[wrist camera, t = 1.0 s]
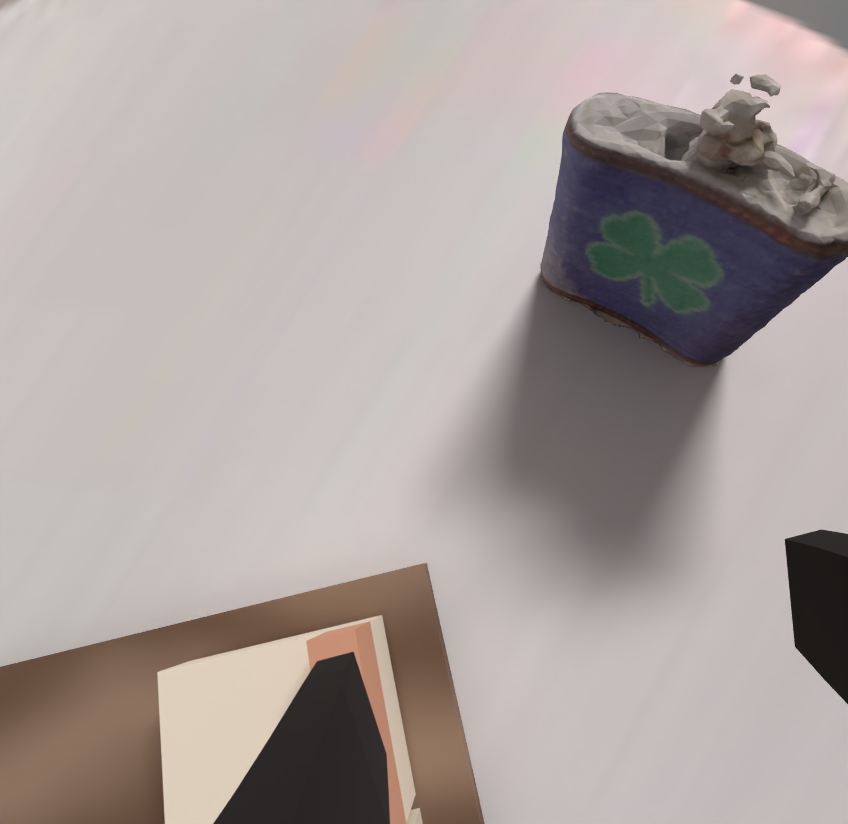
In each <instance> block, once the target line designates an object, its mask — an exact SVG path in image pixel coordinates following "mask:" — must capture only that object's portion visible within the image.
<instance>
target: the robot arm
mask: <svg viewBox="0 0 848 824" xmlns="http://www.w3.org/2000/svg"><path fill="white" fill-rule="evenodd" d="M785 546H786V557H787V567H788V578H789V588H790V599H791V610H792V620H793V631H794V641H795V647H796V648H797V649H798V650H799V652H800V653H801V654H802V655H803V656H804V657H805V658H806V659H807V661H808V662H809V663H810V664H811V665H812V666H813V667H814V668H815V670H816V671H817V672H818V673H819V674H820V675H821V676H822V677H823V678H824V680H825V681H826V682H827V683H828V684H829V685H830V686H831V687H832V688H833V689H834V690H835V691H836V692H837V693H838V694H839V695H840V696H841V697H842V699H843V700H844V701H845V702H846V703H847V704H848V534H844V533H839V532H833V531H827V530H818V531H814V532H810V533H806V534H803V535H799V536H795V537H791V538H787V539H785ZM213 824H390V810H389V788H388V770H387V754H386V750H385V747H384V744H383V741H382V738H381V735H380V732H379V729H378V726H377V723H376V719H375V716H374V713H373V710H372V707H371V704H370V701H369V698H368V695H367V692H366V688H365V685H364V682H363V679H362V676H361V673H360V670H359V667H358V664H357V661H356V657H355V654H354V652H350V653H346V654H342V655H339V656H335V657H331V658H327V659H323V660H319V661H317V662H316V664H315V665H314V667H313V668H312V670H311V671H310V673H309V675H308V676H307V678H306V679H305V681H304V682H303V684H302V686H301V687H300V689H299V690H298V692H297V694H296V695H295V697H294V699H293V700H292V702H291V704H290V705H289V707H288V708H287V710H286V712H285V713H284V715H283V717H282V718H281V720H280V721H279V723H278V725H277V726H276V728H275V730H274V731H273V733H272V734H271V736H270V738H269V739H268V741H267V742H266V744H265V746H264V747H263V749H262V750H261V752H260V753H259V755H258V757H257V758H256V760H255V761H254V763H253V764H252V766H251V767H250V769H249V771H248V772H247V774H246V775H245V777H244V778H243V780H242V782H241V783H240V785H239V786H238V788H237V789H236V791H235V792H234V794H233V795H232V797H231V799H230V800H229V801H228V803H227V804H226V806H225V807H224V809H223V810H222V812H221V813H220V814H219V816H218V817H217V819H216V820H215V822H214V823H213Z"/></svg>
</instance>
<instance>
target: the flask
mask: <svg viewBox="0 0 848 824" xmlns="http://www.w3.org/2000/svg"><path fill="white" fill-rule="evenodd" d="M743 78H744V77H743V76H741V75H738V74H735V75H734V76H733V77H732V78H731V80H730V82H731V83H733V84H740V82H741V81H742V79H743ZM750 82H751V87H752V88H754V89H758V90H762V91H765V92H768V94H769V95H770V96H773V95H778V94H779V92H780V87H781V85H780V84H779V83H777V82H776V81H775V80H773V79H772V78H770V77H769V76H767V75H756V76H752V77H750ZM766 107H767V108H770V105H769V103H768V102H767V101H766V100H763V99H761V98H760V97H752V96H751V94H750V93H747V92H743V91H738V90H730V91H729V92H727V93H726V94H725V96H724V97H722V98H721V99H720V100H719V101H718V102H717V104H716V105H715V106H714V107H713V108H712V109H706V110H704V111H702V114H701V115H699V114H696V113H693V112H691V111H689V110H686V109H681V108H677V107H672V106H667V105H662V104H658V103H655V102H652V101H649V100H645V99H642V98H638V97H631V96H625V95H622V94H618V93H598V94H596V95H594V96H592V97H590V98H588V99H586V100H585V101H583V102H582V103H580V104H579V105H578V106H576V107H575V108H574V109H573V110H572V112H571V114H570V116H569V118H568V121H567V123H566V126H565V129H564V132H563V140H562V157H561V164H560V170H559V176H558V181H557V187H556V194H555V201H554V204H553V210H552V213H551V216H550V222H549V230H548V236H547V240H546V245H545V249H544V254H543V258H542V262H541V274H542V275H541V277H542V278H543V281H544V282H545V283H546V285H548V286H549V287H550V288H551V289H552V290H553V291H554V292H555V293H557V294H559V296H561V297H562V298H563V299H566V301H570V299H574V301H577V302H579V303H580V304H582V305H584V306H586V307H588V308H589V309H590V310H593V311H594V312H595V314H596V315H597V316H600V317H602V318H603V319H604V321H606V322H611V323H612V324H614V325H619V326H621V325H622V326H624V327H625V326H626V327H632V328H633V329H635V330H636V331H638V332H639V338H645V339H650V340H654V341H655V342H657V343H659V345H660V346H661V347H662V348H663V351H664V352H665V351H667V352H669V353H671V354H673V355H675V356H676V357H677V358H678V359H681V360H682V361H684V362H685V363H686V364H688V365H689V366H708V365H714V366H716V362H718V361H719V360H721V359H722V358H724V357H726V356H728V355H730V354H731V353H733V352H734V351H735V350H737V349H738V348H739V346H741V345H742V344H743V343H745V342H746V341H747V340H748V339H750V338H751V337H752V336H753V335H754V333H756V332H757V331H759V330H760V329H762V328H763V327H765V326H766V325H767V323H768V322H769V321H770V320H771V319H772V318H774V317H775V316H776V315H777V314H778V313H779V312H781V311H782V310H783V309H784V308H786V307H787V306H789V305H790V304H791V303H792V302H793V301H794V300H796V299H797V298H798V297H799V296H800V295H801V294H802V293H804V292H805V291H806V290H807V289H809V288H810V287H812V286H813V285H814V284H815V283H816V282H818V281H819V280H820V279H821V278H823V277H824V276H825V275H826V274H827V273H828V272H829V271H830V270H831V269H832V268H833V267H834V266H836V265H837V264H839V263H840V262H842V261H844V260H845V259H846V257H848V183H847V182H846V181H844V180H843V179H841V178H839V177H837V176H835V174H833V173H831V172H829V171H827V170H825V169H823V168H821V167H818V166H816V165H814V164H812V163H811V162H809V161H808V160H806V159H805V158H803V157H802V156H800V155H798V154H796V153H794V152H792V151H791V150H789V149H787V148H785V147H782V146H780V145H778V144H777V136H776V134H775V133H774V132H773V130H772V129H771V126H770V123H768V122H764V121H761V120H755V115H757V114H758V113H759V112H761V110H762V109H764V108H766Z"/></svg>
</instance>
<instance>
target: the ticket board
mask: <svg viewBox="0 0 848 824" xmlns="http://www.w3.org/2000/svg"><path fill="white" fill-rule="evenodd" d="M379 615H382V617H383V623H384V628H385V633H386V639H387V644H388V649H389V655H390V660H391V665H392V671H393V676H394V681H395V686H396V692H397V697H398V702H399V708H400V713H401V718H402V724H403V729H404V734H405V740H406V745H407V750H408V756H409V761H410V766H411V772H412V777H413V782H414V788H415V793H416V795H415V798H414V801H413V804H412V808H411V811H410V814H409V817H408V820H407V824H484V820H483V815H482V811H481V806H480V802H479V797H478V793H477V788H476V784H475V779H474V775H473V770H472V766H471V761H470V757H469V752H468V748H467V743H466V739H465V734H464V730H463V725H462V721H461V716H460V712H459V707H458V703H457V698H456V694H455V689H454V685H453V680H452V676H451V671H450V667H449V662H448V658H447V653H446V649H445V644H444V640H443V635H442V631H441V626H440V622H439V617H438V613H437V608H436V604H435V599H434V595H433V590H432V585H431V581H430V576H429V572H428V567H427V563H424V564H420V565H416V566H412V567H407V568H403V569H399V570H395V571H391V572H387V573H383V574H379V575H375V576H371V577H367V578H362V579H358V580H354V581H350V582H346V583H342V584H338V585H334V586H330V587H326V588H322V589H317V590H313V591H309V592H305V593H301V594H297V595H293V596H289V597H285V598H281V599H277V600H272V601H268V602H264V603H260V604H256V605H252V606H248V607H244V608H240V609H236V610H232V611H227V612H223V613H219V614H215V615H211V616H207V617H203V618H199V619H195V620H191V621H187V622H182V623H178V624H174V625H170V626H166V627H162V628H158V629H154V630H150V631H146V632H142V633H137V634H133V635H129V636H125V637H121V638H117V639H113V640H109V641H105V642H101V643H97V644H92V645H88V646H84V647H80V648H76V649H72V650H68V651H64V652H60V653H56V654H52V655H47V656H43V657H39V658H35V659H31V660H27V661H23V662H19V663H15V664H11V665H7V666H2V667H0V824H165V815H164V795H163V775H162V755H161V736H160V716H159V696H158V676H157V672H159V671H162V670H165V669H168V668H171V667H174V666H177V665H179V664H182V663H185V662H188V661H192V660H196V659H200V658H204V657H208V656H212V655H217V654H221V653H225V652H229V651H233V650H238V649H242V648H246V647H250V646H254V645H258V644H263V643H267V642H271V641H275V640H279V639H283V638H288V637H292V636H296V635H300V634H304V633H309V632H313V631H317V630H321V629H325V628H329V627H334V626H338V625H342V624H346V623H350V622H354V621H359V620H363V619H367V618H371V617H375V616H379Z"/></svg>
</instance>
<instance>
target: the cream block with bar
mask: <svg viewBox="0 0 848 824" xmlns="http://www.w3.org/2000/svg"><path fill="white" fill-rule="evenodd" d="M350 652H354V654H355V657H356V661H357V664H358V667H359V670H360V673H361V676H362V679H363V682H364V685H365V688H366V692H367V695H368V698H369V701H370V704H371V707H372V710H373V713H374V716H375V719H376V723H377V726H378V729H379V732H380V735H381V738H382V741H383V744H384V747H385V750H386V754H387V770H388V788H389V810H390V824H407V820H408V817H409V814H410V811H411V808H412V804H413V801H414V798H415V795H416V793H415V788H414V782H413V777H412V772H411V766H410V761H409V756H408V750H407V745H406V740H405V734H404V729H403V724H402V718H401V713H400V708H399V702H398V697H397V692H396V686H395V681H394V676H393V671H392V665H391V660H390V655H389V649H388V644H387V639H386V633H385V628H384V623H383V617H382V615H379V616H375V617H371V618H367V619H363V620H359V621H354V622H350V623H346V624H342V625H338V626H334V627H329V628H325V629H321V630H317V631H313V632H309V633H304V634H300V635H296V636H292V637H288V638H283V639H279V640H275V641H271V642H267V643H263V644H258V645H254V646H250V647H246V648H242V649H238V650H233V651H229V652H225V653H221V654H217V655H212V656H208V657H204V658H200V659H196V660H192V661H188V662H185V663H182V664H179V665H177V666H174V667H171V668H168V669H165V670H162V671H159V672H157V676H158V696H159V716H160V736H161V755H162V775H163V795H164V815H165V824H213V823H214V822H215V820H216V819H217V817H218V816H219V814H220V813H221V812H222V810H223V809H224V807H225V806H226V804H227V803H228V801H229V800H230V799H231V797H232V795H233V794H234V792H235V791H236V789H237V788H238V786H239V785H240V783H241V782H242V780H243V778H244V777H245V775H246V774H247V772H248V771H249V769H250V767H251V766H252V764H253V763H254V761H255V760H256V758H257V757H258V755H259V753H260V752H261V750H262V749H263V747H264V746H265V744H266V742H267V741H268V739H269V738H270V736H271V734H272V733H273V731H274V730H275V728H276V726H277V725H278V723H279V721H280V720H281V718H282V717H283V715H284V713H285V712H286V710H287V708H288V707H289V705H290V704H291V702H292V700H293V699H294V697H295V695H296V694H297V692H298V690H299V689H300V687H301V686H302V684H303V682H304V681H305V679H306V678H307V676H308V675H309V673H310V671H311V670H312V668H313V667H314V665H315V664H316V662H317V661H319V660H323V659H327V658H331V657H335V656H339V655H342V654H346V653H350Z"/></svg>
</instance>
